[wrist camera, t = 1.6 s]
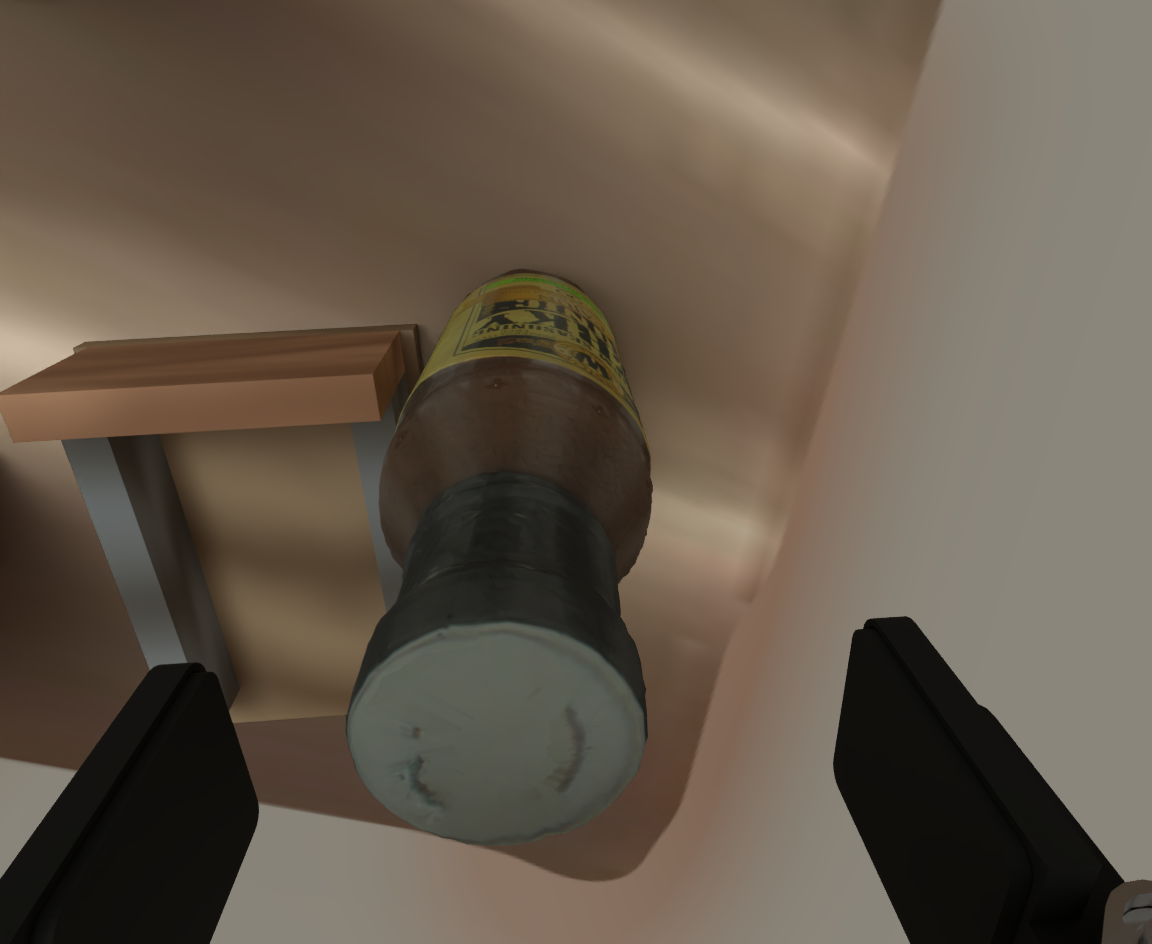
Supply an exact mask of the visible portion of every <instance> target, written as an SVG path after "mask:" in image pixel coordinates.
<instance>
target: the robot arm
mask: <svg viewBox="0 0 1152 944" xmlns="http://www.w3.org/2000/svg"><path fill="white" fill-rule="evenodd" d="M833 767H834V774H835V779H836V783H837V785H838V788H839V790H840V792H841V795H842V797H843V799H844V801H845V803H846V806H847V808H848V810H849V812H850V814H851V816H852V819H853V821H854V823H855V825H856V827H857V829H858V832H859V834H860V836H861V838H862V840H863V842H864V845H865V847H866V849H867V851H868V853H869V855H870V858H871V860H872V862H873V864H874V866H875V868H876V870H877V873H878V875H879V877H880V879H881V881H882V883H883V886H884V888H885V890H886V892H887V894H888V896H889V899H890V901H891V903H892V905H893V907H894V909H895V912H896V914H897V916H898V918H899V920H900V922H901V924H902V927H903V929H904V931H905V933H906V935H907V938H908V940H909V942H910V944H1152V881H1149V880H1136V881H1130V882H1124V880H1123V879H1122V878H1121V877H1120V875H1119V874H1118V873H1117V871H1116V870H1115V869H1114V868H1113V866H1112V865H1111V864H1110V863H1109V861H1108V860H1107V859H1106V858H1105V856H1104V855H1103V854H1102V852H1101V851H1100V850H1099V848H1098V847H1097V846H1096V845H1095V843H1094V842H1093V841H1092V840H1091V838H1090V837H1089V836H1088V834H1087V833H1086V832H1085V831H1084V829H1083V828H1082V827H1081V826H1080V824H1079V823H1078V822H1077V821H1076V819H1075V818H1074V817H1073V815H1072V814H1071V813H1070V812H1069V810H1068V809H1067V808H1066V807H1065V805H1064V804H1063V803H1062V801H1061V800H1060V799H1059V798H1058V796H1057V795H1056V794H1055V793H1054V791H1053V790H1052V789H1051V787H1050V786H1049V785H1048V784H1047V783H1046V781H1045V780H1044V779H1043V777H1042V776H1041V775H1040V773H1039V772H1038V771H1037V770H1036V768H1034V766H1033V764H1032V763H1031V762H1030V761H1029V759H1028V758H1027V757H1026V756H1025V754H1024V753H1023V752H1022V750H1021V749H1020V748H1019V747H1018V745H1017V744H1016V743H1015V742H1014V740H1013V739H1012V738H1011V737H1010V735H1009V734H1008V733H1007V732H1006V730H1005V729H1004V728H1003V726H1002V725H1001V724H1000V723H999V721H998V720H997V719H996V717H994V715H992V713H991V712H990V711H989V710H988V709H987V708H985V707H983V706H981V705H979V704H978V703H977V702H976V701H975V699H974V698H973V697H972V696H971V694H970V693H969V692H968V691H967V689H966V688H965V686H963V684H962V683H961V681H960V680H959V679H958V677H957V676H956V675H955V674H954V672H953V671H952V670H951V668H950V667H949V666H948V664H947V663H946V662H945V661H944V659H943V658H942V657H941V655H940V654H939V653H938V652H937V650H936V649H935V648H934V646H933V645H932V644H931V643H930V641H929V640H928V639H927V637H926V636H925V635H924V634H923V632H922V631H921V630H920V628H919V627H918V626H917V624H916V623H915V622H914V621H913V620H912V619H911V618H909V617H906V616H904V617H889V618H874V619H869V620H867V621H866V622H865V624H864V628H863V629H858V630H855V632H854V634H853V637H852V643H851V650H850V656H849V662H848V669H847V676H846V682H845V689H844V695H843V701H842V708H841V714H840V721H839V727H838V734H837V740H836V747H835V753H834V761H833ZM258 815H259V804H258V800H257V796H256V793H255V790H254V787H253V784H252V781H251V778H250V775H249V772H248V769H247V766H246V762H245V759H244V756H243V753H242V750H241V747H240V744H239V741H238V738H237V735H236V732H235V728H234V725H233V722H232V719H231V716H230V713H229V710H228V707H227V704H226V701H225V698H224V694H223V691H222V688H221V685H220V682H219V679H218V677H217V675H216V674H215V673H214V672H207V671H206V669H205V667H204V666H203V665H202V664H201V663H197V662H193V663H177V664H162V665H157V666H154V667H153V668H152V669H151V670H150V671H149V672H148V674H147V675H146V676H145V678H144V679H143V681H142V682H141V683H140V685H139V686H138V688H137V689H136V690H135V692H134V693H133V695H132V696H131V697H130V699H129V700H128V701H127V703H126V704H125V706H124V707H123V708H122V710H121V711H120V713H119V714H118V715H117V717H116V718H115V720H114V721H113V722H112V724H111V725H110V727H109V728H108V729H107V731H106V732H105V734H104V735H103V736H102V738H101V739H100V741H99V742H98V743H97V745H96V746H95V748H94V749H93V750H92V752H91V753H90V755H89V756H88V757H87V759H86V760H85V761H84V763H83V764H82V766H81V767H80V768H79V770H78V771H77V773H76V774H75V775H74V777H73V778H72V780H71V781H70V783H69V784H68V785H67V787H66V788H65V790H64V791H63V792H62V794H61V795H60V796H59V798H58V799H57V801H56V802H55V804H54V805H53V806H52V808H51V809H50V810H49V812H48V813H47V815H46V816H45V817H44V819H43V820H42V822H41V823H40V824H39V826H38V827H37V828H36V830H35V831H34V833H33V834H32V835H31V837H30V838H29V840H28V841H27V843H26V844H25V845H24V847H23V848H22V849H21V851H20V852H19V854H18V855H17V857H16V858H15V859H14V861H13V862H12V864H11V865H10V866H9V868H8V869H7V870H6V872H5V873H4V875H3V876H2V877H1V879H0V944H210V941H211V939H212V936H213V934H214V931H215V929H216V926H217V924H218V921H219V919H220V916H221V914H222V911H223V909H224V906H225V904H226V902H227V899H228V896H229V894H230V891H231V889H232V887H233V884H234V882H235V879H236V877H237V874H238V872H239V869H240V867H241V864H242V862H243V859H244V857H245V854H246V852H247V849H248V847H249V844H250V842H251V839H252V837H253V834H254V832H255V829H256V826H257V822H258Z"/></svg>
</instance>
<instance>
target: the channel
mask: <svg viewBox="0 0 1152 944" xmlns="http://www.w3.org/2000/svg"><path fill="white" fill-rule="evenodd" d="M73 350H74V353H75V354H73V355H72V356H70V357H68V358H66V359H64V360H62V361H60V362H58V363H56V364H54V365H52V366H50V367H48V368H46V369H44V370H42V371H41V372H39V373H37V374H35V375H33V376H31V377H29V378H27V379H25V380H23V381H21V382H19V383H17V384H15V385H13V386H11V387H10V388H8V389H6V390H4V391H2V392H0V412H1V414H2V416H3V419H4V421H5V424H6V426H7V428H8V431H9V433H10V435H11V438H12V440H13V442H30V441H47V440H61V441H62V444H63V446H64V449H65V452H66V454H67V457H68V459H69V462H70V464H71V467H72V470H73V472H74V475H75V477H76V480H77V483H78V485H79V488H80V490H81V493H82V496H83V498H84V501H85V503H86V506H87V509H88V511H89V514H90V516H91V519H92V521H93V524H94V527H95V529H96V532H97V534H98V537H99V540H100V542H101V545H102V547H103V550H104V553H105V555H106V558H107V560H108V563H109V566H110V568H111V571H112V573H113V576H114V578H115V581H116V584H117V586H118V589H119V591H120V594H121V597H122V599H123V602H124V604H125V607H126V610H127V612H128V615H129V617H130V620H131V623H132V625H133V628H134V630H135V633H136V635H137V638H138V641H139V643H140V646H141V648H142V651H143V654H144V656H145V659H146V661H147V664H148V667H149V669H150V670H151V669H152V668H153V667H154V666H157V665H162V664H177V663H193V662H197V663H201V664H202V665H203V666H204V667H205V669H206V671H207V672H214V673H215V674H216V675H217V677H218V679H219V682H220V685H221V688H222V691H223V694H224V698H225V701H226V704H227V707H228V710H229V713H230V716H231V719H232V722H233V723H240V722H253V721H267V720H280V719H294V718H307V717H320V716H334V715H347V711H348V708H349V704H350V699H351V695H352V691H353V688H354V685H355V682H356V679H357V677H358V674H359V671H360V667H361V664H362V660H363V657H364V655H365V652H366V648H367V644H368V642H369V641H370V639H371V637H372V635H373V633H374V630H375V627H376V625H377V624H378V622H379V620H380V619H381V618H382V617H383V616H384V615H385V614H386V613H387V612H388V611H389V610H390V609H391V607H392V606H393V605H394V604H395V603H396V600H397V598H398V595H399V592H400V589H401V585H402V574H403V569H402V568H401V567H400V566H399V565H398V563H397V562H396V561H395V560H394V559H393V558H392V555H391V552H390V549H389V547H388V546H387V544H386V542H385V537H384V534H383V532H382V528H381V523H380V511H379V505H378V502H379V483H380V476H381V471H382V466H383V461H384V458H385V455H386V452H387V450H388V447H389V445H390V443H391V441H392V439H393V437H394V435H395V432H396V427H397V424H398V421H399V418H400V415H401V412H402V410H403V408H404V406H405V404H406V402H407V400H408V398H409V396H410V394H411V393H412V391H413V389H414V387H415V385H416V383H417V381H418V380H419V378H420V376H421V374H422V372H423V370H422V362H421V355H420V348H419V341H418V334H417V326H416V324H407V325H389V326H370V327H352V328H333V329H315V330H297V331H278V332H260V333H241V334H223V335H204V336H186V337H167V338H149V339H130V340H112V341H94V342H84V343H82V344H80V345H78V346H76V347H74V348H73Z"/></svg>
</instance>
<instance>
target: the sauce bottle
mask: <svg viewBox="0 0 1152 944" xmlns="http://www.w3.org/2000/svg"><path fill="white" fill-rule="evenodd" d="M650 472H651V457H650V452H649V447H648V443H647V440H646V436H645V433H644V430H643V427H642V424H641V421H640V417H639V413H638V410H637V408H636V406H635V404H634V400H633V396H632V393H631V389H630V387H629V384H628V382H627V379H626V376H625V370H624V368H623V366H622V364H621V360H620V357H619V354H618V349H617V346H616V343H615V339H614V336H613V334H612V331H611V329H610V326H609V324H608V322H607V320H606V319H605V317H604V315H603V313H602V312H601V310H600V309H599V308H598V307H597V305H596V304H595V303H594V302H593V301H592V300H591V299H590V298H589V297H588V296H587V295H585V293H584V292H583V291H582V290H581V289H580V288H579V287H578V286H577V285H575V284H574V283H572V282H570V281H568V280H566V279H563V278H560V277H557V276H554V275H550V274H546V273H542V272H537V271H531V270H525V269H518V270H511V271H509V272H507V273H504V274H501V275H499V276H497V277H494V278H492V279H491V280H489V281H487V282H486V283H484V284H482V285H481V286H480V287H479V288H477V289H476V290H475V291H473V292H472V293H470V294H468V295H467V297H466V298H465V299H464V300H463V301H462V303H461V304H460V305H459V306H458V307H457V309H456V310H455V311H454V313H453V315H452V316H451V318H450V320H449V321H448V323H447V325H446V327H445V329H444V331H443V333H442V335H441V337H440V339H439V341H438V343H437V345H436V347H435V349H434V351H433V353H432V355H431V357H430V359H429V361H428V362H427V364H426V366H425V368H424V370H423V372H422V374H421V376H420V378H419V380H418V381H417V383H416V385H415V387H414V389H413V391H412V393H411V394H410V396H409V398H408V400H407V402H406V404H405V406H404V408H403V410H402V412H401V415H400V418H399V421H398V424H397V427H396V432H395V435H394V437H393V439H392V441H391V443H390V445H389V447H388V450H387V452H386V455H385V458H384V461H383V466H382V471H381V476H380V483H379V502H378V505H379V511H380V523H381V528H382V532H383V534H384V537H385V542H386V544H387V546H388V547H389V549H390V552H391V555H392V558H393V559H394V560H395V561H396V562H397V563H398V565H399V566H400V567H401V568H402V569H403V574H402V585H401V589H400V592H399V595H398V598H397V600H396V603H395V604H394V605H393V606H392V607H391V609H390V610H389V611H388V612H387V613H386V614H385V615H384V616H383V617H382V618H381V619H380V620H379V622H378V624H377V625H376V627H375V630H374V633H373V635H372V637H371V639H370V641H369V642H368V644H367V648H366V652H365V655H364V657H363V660H362V664H361V667H360V671H359V674H358V677H357V679H356V682H355V685H354V688H353V691H352V695H351V699H350V704H349V708H348V711H347V715H346V735H347V740H348V746H349V750H350V752H351V754H352V757H353V761H354V766H355V768H356V770H357V772H358V774H359V776H360V778H361V779H362V781H363V782H364V784H365V785H366V787H367V789H368V790H369V791H370V793H371V794H372V795H373V796H374V797H375V798H376V799H377V800H378V801H379V802H381V803H382V804H383V805H384V806H385V807H386V808H387V809H388V810H390V811H391V812H392V813H394V814H395V815H397V816H398V817H400V818H401V819H403V820H404V821H406V822H408V823H409V824H411V825H413V826H415V827H416V828H418V829H421V830H424V831H427V832H430V833H432V834H434V835H437V836H439V837H441V838H447V839H453V840H456V841H459V842H462V843H465V844H472V845H485V846H500V845H515V844H524V843H529V842H534V841H538V840H539V839H541V838H543V837H545V836H547V835H562V834H564V833H566V832H568V831H570V830H573V829H575V828H577V827H580V826H582V825H584V824H585V823H587V822H588V821H590V820H592V819H593V818H595V817H596V816H597V815H599V814H600V813H601V812H603V811H604V810H606V809H607V808H608V807H609V806H610V805H611V804H612V802H613V801H614V800H615V799H616V798H617V797H618V796H619V795H620V794H621V793H622V792H623V791H624V789H625V788H626V787H627V785H628V784H629V783H630V781H631V780H632V779H633V777H634V776H635V775H636V773H637V772H638V770H639V766H640V762H641V758H642V754H643V750H644V746H645V743H646V740H647V737H648V732H647V710H646V700H645V693H646V688H645V684H644V681H643V676H642V668H641V662H640V658H639V655H638V651H637V648H636V645H635V642H634V640H633V639H632V638H631V636H630V635H629V633H628V631H627V628H626V626H625V623H624V622H623V620H622V619H621V617H620V614H621V610H620V600H619V592H618V583H620V581H621V579H622V578H623V577H624V576H626V575H627V574H628V573H629V571H630V569H631V568H632V566H633V565H634V564H635V563H636V560H637V557H638V555H639V553H640V550H641V549H642V547H643V544H644V540H645V536H646V535H647V528H648V524H649V520H650V514H651V503H652V497H651V495H652V492H653V485H652V481H651V478H650Z"/></svg>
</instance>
